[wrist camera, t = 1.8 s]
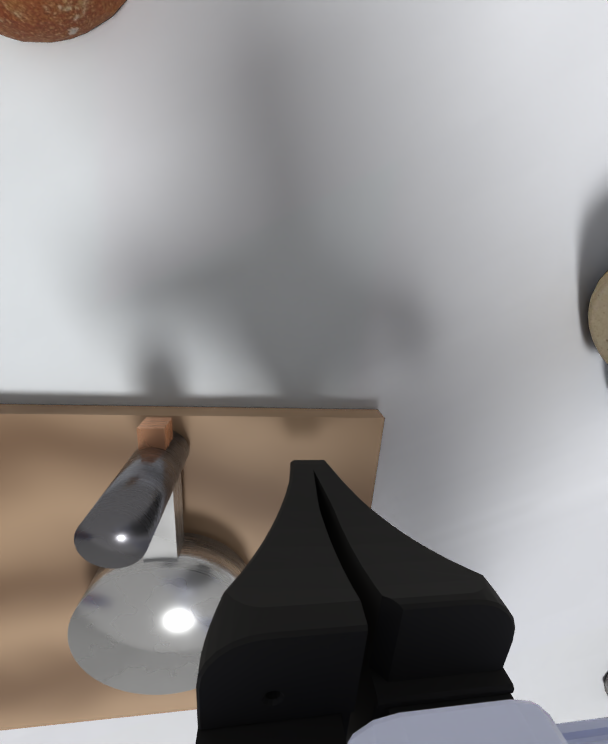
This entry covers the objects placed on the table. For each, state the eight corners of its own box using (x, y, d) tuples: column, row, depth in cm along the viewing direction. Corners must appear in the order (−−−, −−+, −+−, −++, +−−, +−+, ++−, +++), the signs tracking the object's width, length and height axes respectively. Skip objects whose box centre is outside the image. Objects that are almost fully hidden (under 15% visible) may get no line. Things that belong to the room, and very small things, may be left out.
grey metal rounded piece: (252, 642, 18) (246, 775, 13) (102, 654, 17) (36, 804, 12) (258, 413, 14) (253, 485, 9) (60, 410, 13) (-65, 491, 8)
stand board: (339, 674, 21) (351, 746, 18) (-38, 712, 18) (-103, 806, 15) (377, 409, 16) (407, 444, 12) (-158, 401, 13) (-304, 444, 9)
